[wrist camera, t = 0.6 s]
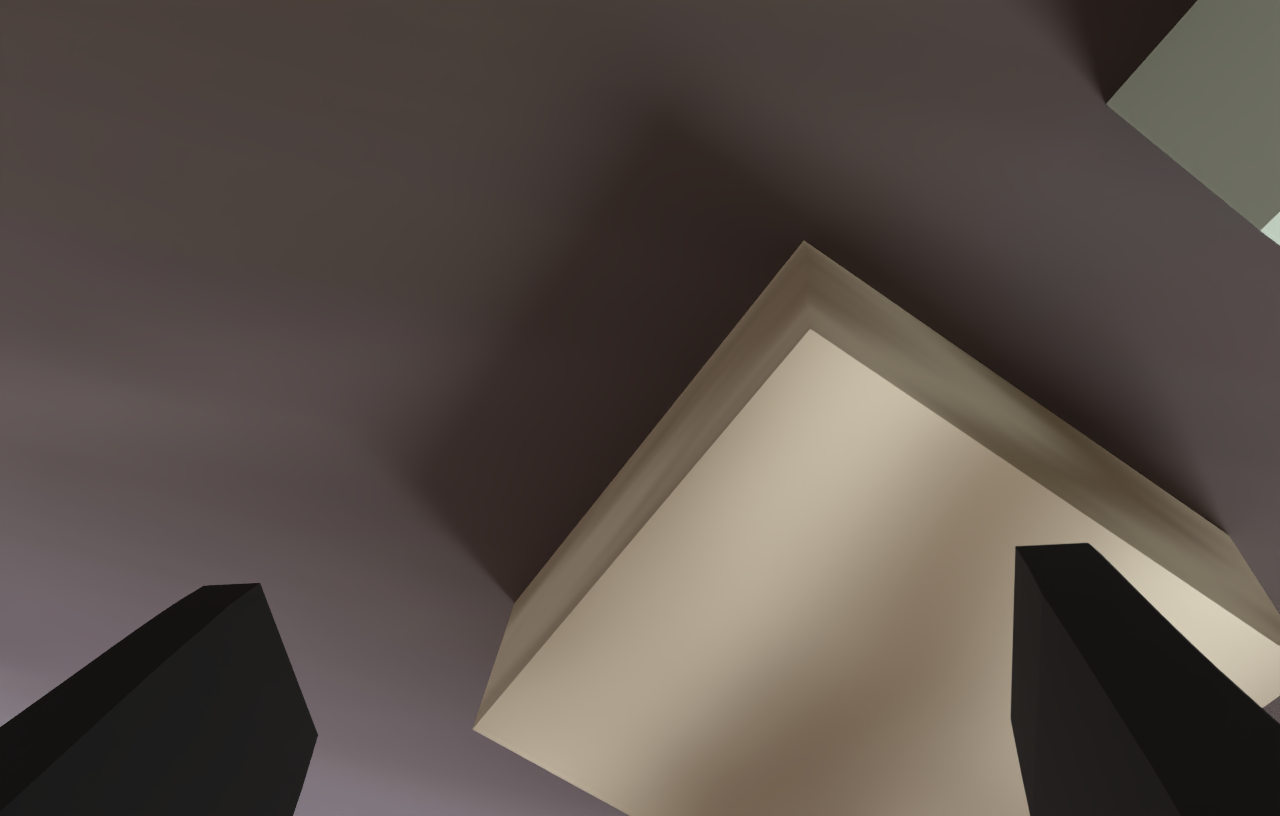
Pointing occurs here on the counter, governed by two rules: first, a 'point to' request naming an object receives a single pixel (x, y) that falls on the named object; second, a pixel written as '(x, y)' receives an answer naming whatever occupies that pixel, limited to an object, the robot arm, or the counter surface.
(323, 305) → the counter surface
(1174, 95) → the sage block
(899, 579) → the birch base
